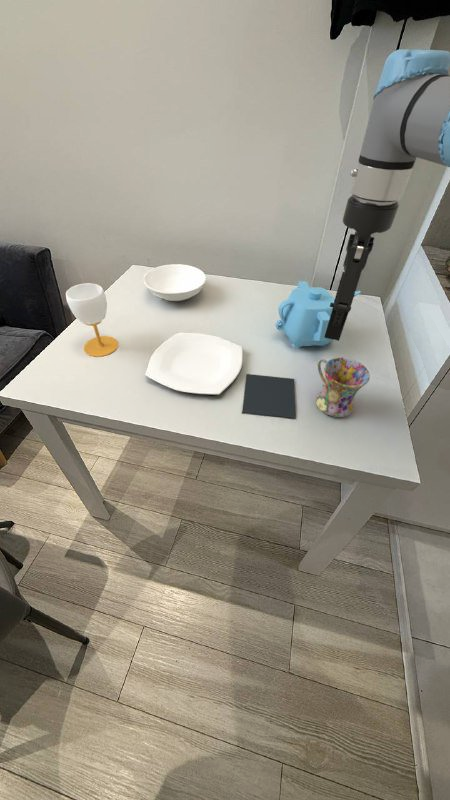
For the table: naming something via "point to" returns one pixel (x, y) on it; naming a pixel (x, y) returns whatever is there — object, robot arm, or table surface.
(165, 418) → the table surface
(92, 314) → the cup
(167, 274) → the bowl
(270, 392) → the left mat
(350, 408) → the mug
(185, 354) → the plate
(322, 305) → the teapot
